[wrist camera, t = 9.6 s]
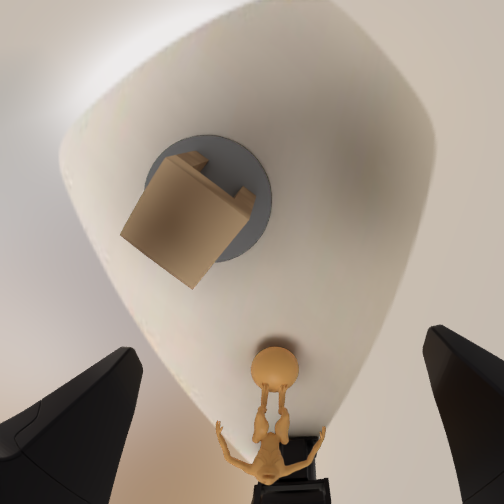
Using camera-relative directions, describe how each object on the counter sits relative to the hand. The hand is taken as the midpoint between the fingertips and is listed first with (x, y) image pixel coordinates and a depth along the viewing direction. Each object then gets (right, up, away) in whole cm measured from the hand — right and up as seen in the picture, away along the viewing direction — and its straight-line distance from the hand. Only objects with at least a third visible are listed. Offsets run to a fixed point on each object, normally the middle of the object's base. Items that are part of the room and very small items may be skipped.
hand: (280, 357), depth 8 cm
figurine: (+1, -7, +17) cm, 19 cm away
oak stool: (-4, +6, +11) cm, 14 cm away
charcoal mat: (-4, +6, +12) cm, 14 cm away
